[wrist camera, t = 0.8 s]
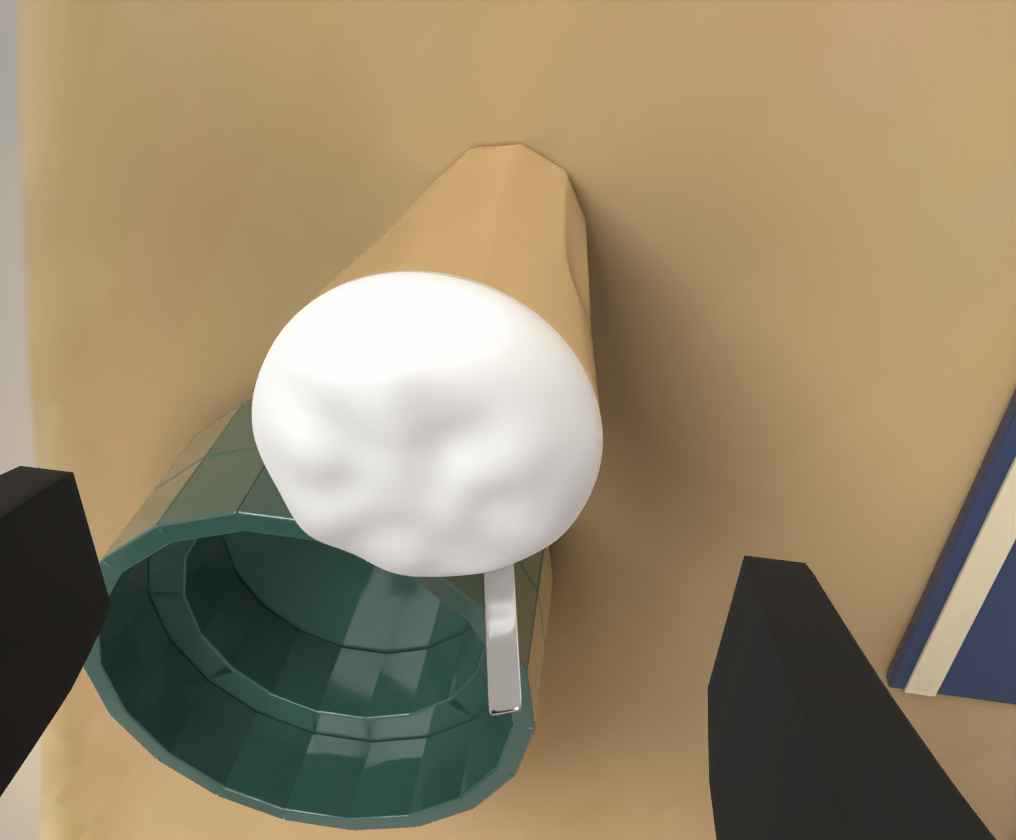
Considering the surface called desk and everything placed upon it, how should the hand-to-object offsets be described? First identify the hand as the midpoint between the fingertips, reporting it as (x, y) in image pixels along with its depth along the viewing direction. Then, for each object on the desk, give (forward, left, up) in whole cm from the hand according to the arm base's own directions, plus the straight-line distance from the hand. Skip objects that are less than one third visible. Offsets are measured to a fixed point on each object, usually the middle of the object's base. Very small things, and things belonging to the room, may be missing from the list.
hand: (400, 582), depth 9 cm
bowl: (-9, +3, -10) cm, 14 cm away
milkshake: (0, 0, -11) cm, 11 cm away
